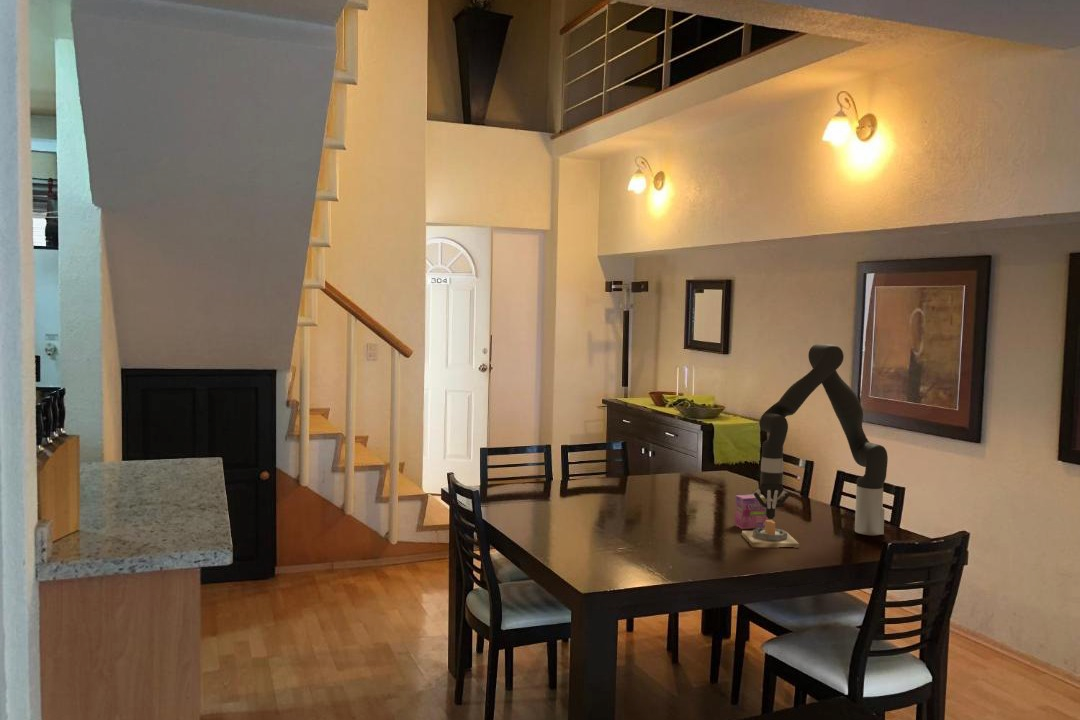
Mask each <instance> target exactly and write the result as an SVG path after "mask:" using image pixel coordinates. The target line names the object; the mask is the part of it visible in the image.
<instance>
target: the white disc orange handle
mask: <svg viewBox="0 0 1080 720" xmlns="http://www.w3.org/2000/svg"><path fill="white" fill-rule="evenodd" d="M775 528H776V522H775V521H774V519H766V520H765V530H762V531H760V533H764V534H769V535H779V534H780V533H779V532H777V531H775Z"/></svg>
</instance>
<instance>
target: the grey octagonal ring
mask: <svg viewBox="0 0 1080 720" xmlns="http://www.w3.org/2000/svg"><path fill="white" fill-rule="evenodd" d="M762 530H765V527H759V528H752V531H753V536H754V537H755V538H756V539H761V540H765V541H783V540H785V539H787V533H788V532H787V531H786V530H784V529H780V528H776V527H775V531H777V532H779V533H780V534H779V535H769V534H764V533H760V531H762ZM785 531H786V532H787V533H786V532H785Z"/></svg>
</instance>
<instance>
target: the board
mask: <svg viewBox="0 0 1080 720" xmlns="http://www.w3.org/2000/svg"><path fill="white" fill-rule="evenodd" d="M784 531H785V532H786V533H787V539H785V540H783V541H765V540H761V539H756V538H755V537H754V536H753V530H742V531H741V536H742V537H743V538H744V539H745V541H746V542H747V543H748V542H749V543H748V544H749V545H750V546H751V548H779V547H794V549H795V548H796V549H797V548H798V549H799V548H800V543H799V542H798V541H797V540H796V539H795V538H794V537H793V536H792V535H790V534H789V533H788V532H787V531H786V530H784Z"/></svg>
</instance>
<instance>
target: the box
mask: <svg viewBox="0 0 1080 720" xmlns="http://www.w3.org/2000/svg"><path fill="white" fill-rule="evenodd" d="M760 498H761V499H762V500H763V502H764V503H765V497H764V496H763V495H762V494H761V496H760ZM734 500H735V508H734V526H735V527H736V528H738V527H739V528H738V529H740V530H747V529H748V530H749V529H756V528H759V527H765V520H767V517H766V507H763V506H762V505H761V504H760V503H759V501H758V500H757V499H756V497H755V496H754V495H753V493H752V494H738V495H737V494H736V495H735V499H734Z"/></svg>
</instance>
